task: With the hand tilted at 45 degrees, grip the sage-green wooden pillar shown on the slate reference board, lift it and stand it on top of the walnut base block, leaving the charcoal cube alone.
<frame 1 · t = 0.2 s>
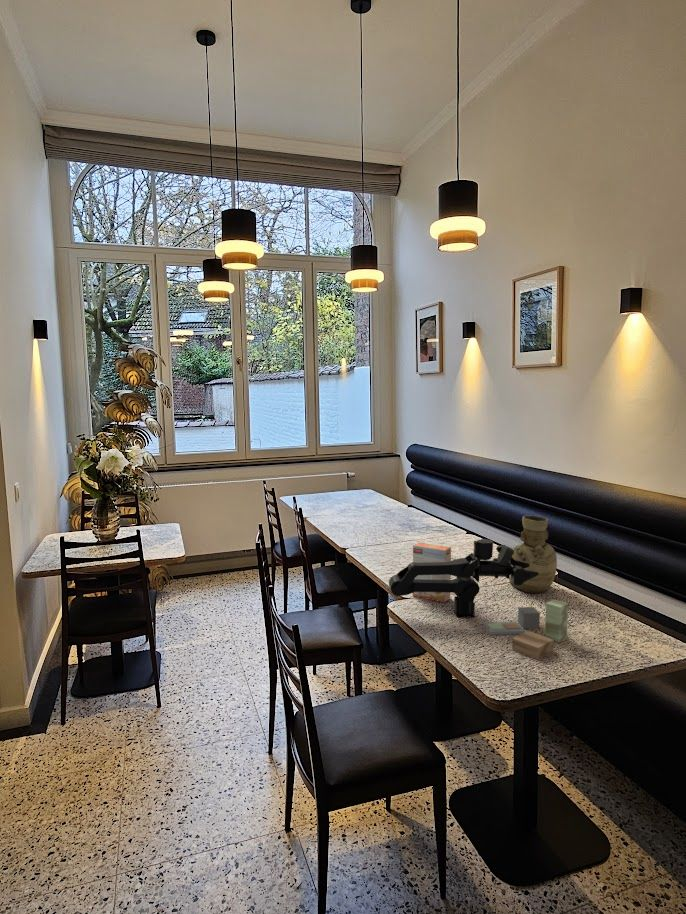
hand: (533, 569, 213), 17 cm above the table, tool horizontal, fingers open, 9 cm apart
ceramic vessel: (530, 588, 241), on the table
walnut base block: (532, 651, 185), on the table
reference board: (503, 629, 201), on the table
charcoal cube: (528, 625, 204), on the table
sage pillar: (555, 638, 194), on the table
cracker box: (431, 597, 231), on the table
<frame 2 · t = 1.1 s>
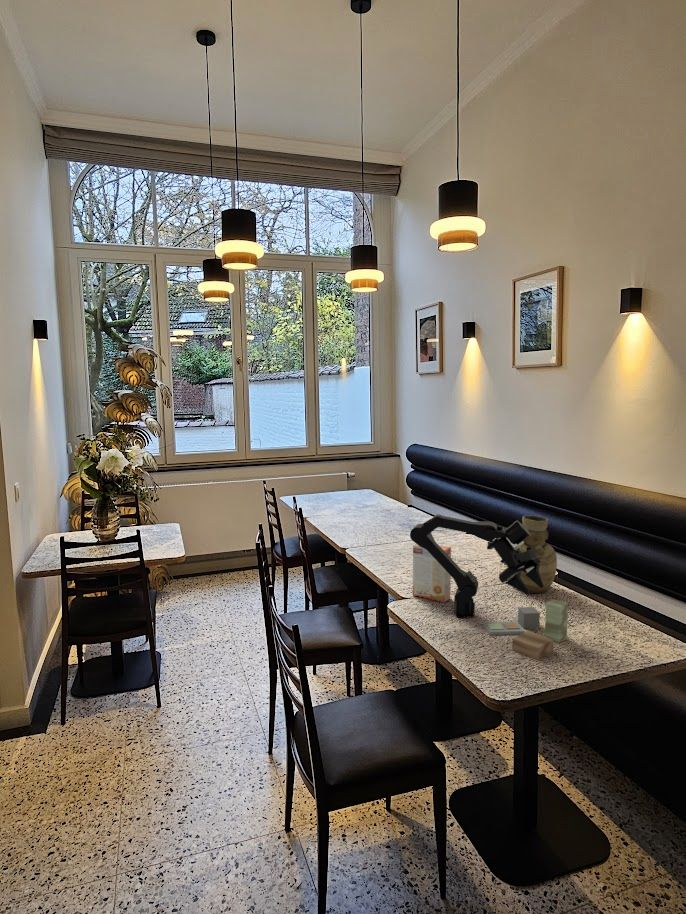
hand: (535, 590, 198), 14 cm above the table, tool tilted 45°, fingers open, 9 cm apart
nothing on the table moved.
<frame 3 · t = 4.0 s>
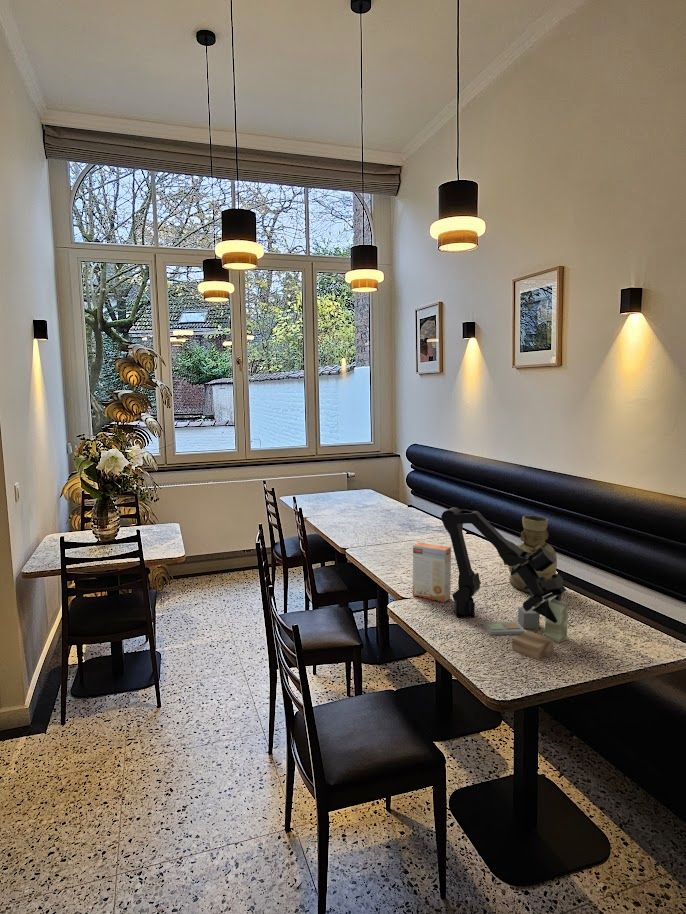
hand: (560, 620, 192), 7 cm above the table, tool tilted 45°, fingers closed on sage pillar, 5 cm apart
sage pillar: (555, 638, 194), on the table, touching gripper
everything else where it was.
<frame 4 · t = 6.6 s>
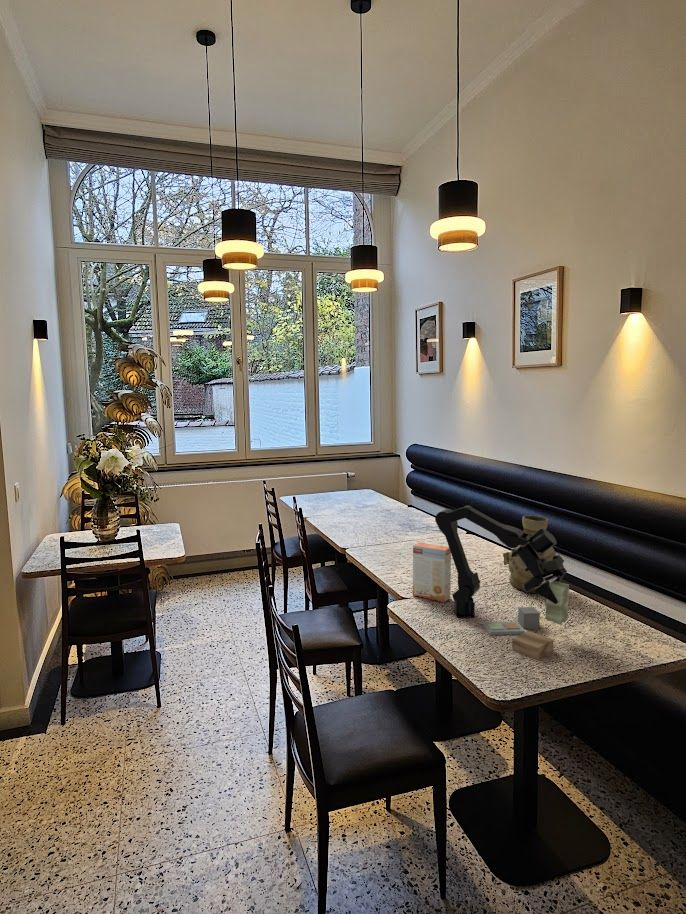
hand: (561, 601, 191), 13 cm above the table, tool tilted 45°, fingers closed on sage pillar, 5 cm apart
sage pillar: (556, 619, 193), point 6 cm above the table, touching gripper
everything else where it was.
when the fingers open (12 cm above the table, at t = 9.3 s): sage pillar drops 1 cm, point 4 cm above the table.
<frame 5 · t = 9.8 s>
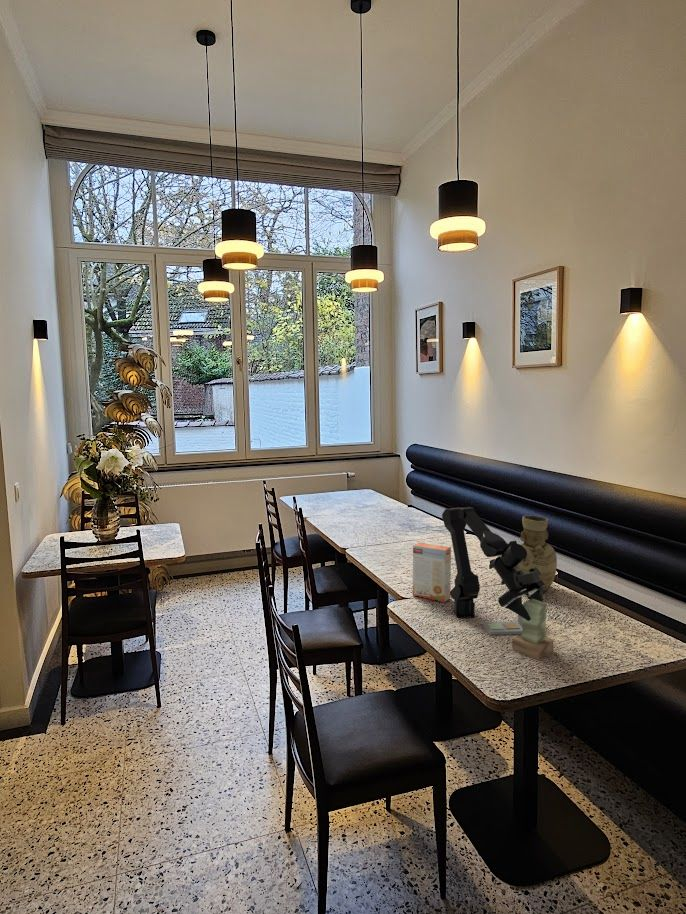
hand: (537, 616, 183), 12 cm above the table, tool tilted 45°, fingers open, 9 cm apart
sage pillar: (533, 639, 185), point 4 cm above the table
everything else where it was.
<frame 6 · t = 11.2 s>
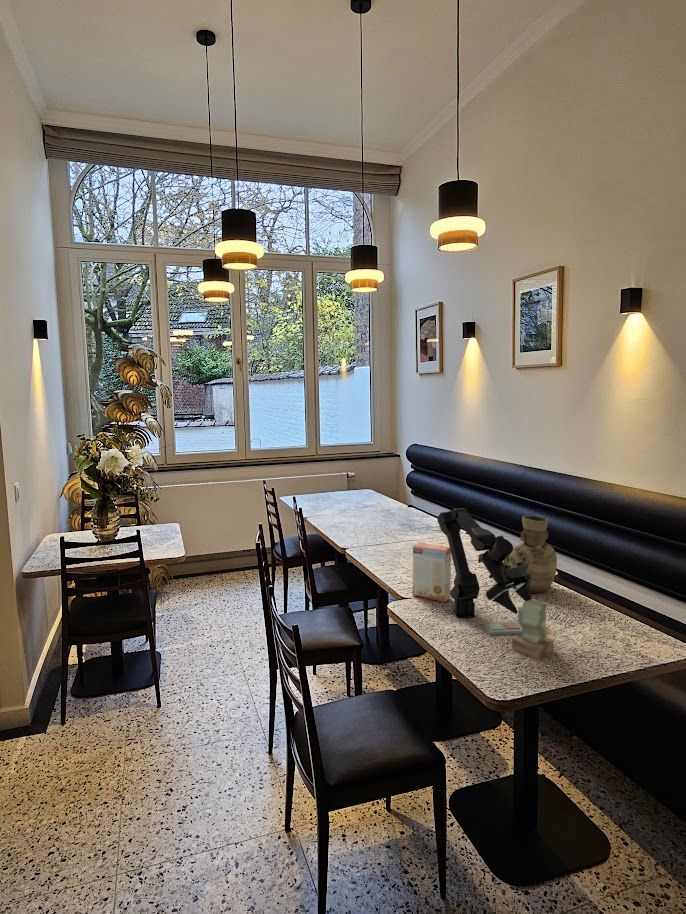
hand: (524, 609, 186), 12 cm above the table, tool tilted 45°, fingers open, 9 cm apart
walnut base block: (532, 651, 185), on the table, touching sage pillar
sage pillar: (533, 639, 184), point 4 cm above the table, touching walnut base block
everything else where it was.
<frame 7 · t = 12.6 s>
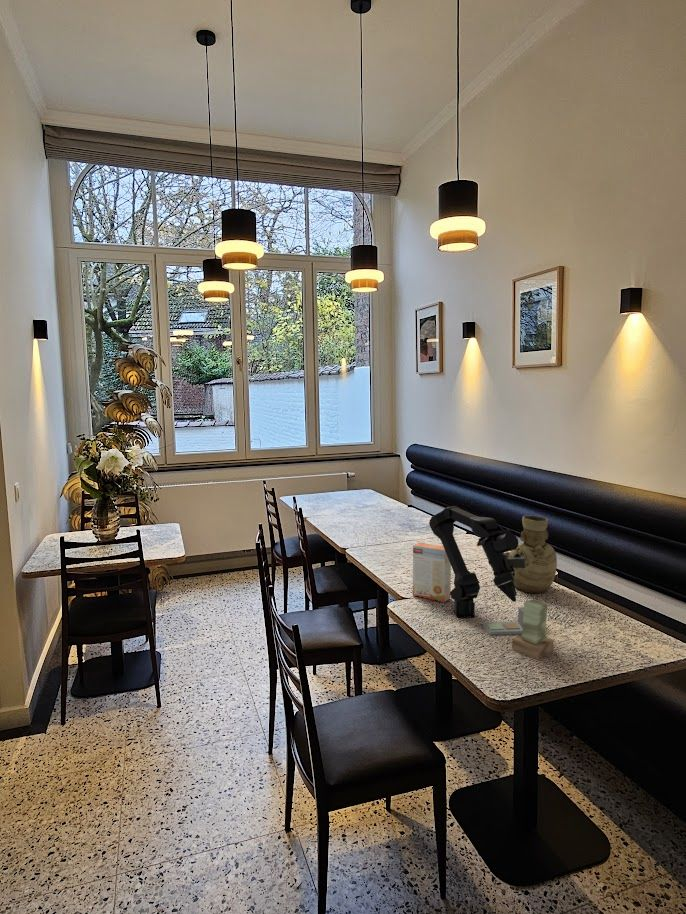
hand: (515, 598, 196), 12 cm above the table, tool tilted 30°, fingers open, 9 cm apart
walnut base block: (532, 651, 185), on the table
sage pillar: (533, 640, 184), point 4 cm above the table
everything else where it was.
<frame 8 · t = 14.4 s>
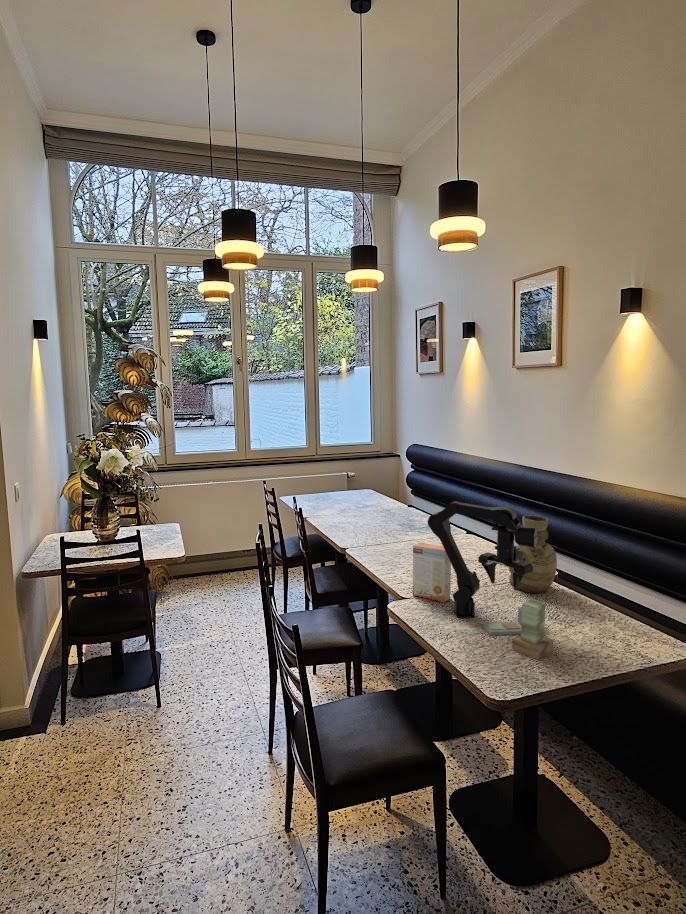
hand: (504, 586, 205), 13 cm above the table, tool pointing down, fingers open, 9 cm apart
nothing on the table moved.
at the end: sage pillar 0.7 cm off-centre on the walnut base block, point 4.0 cm above the walnut base block's base; sage pillar tilted 1°; the gripper is holding nothing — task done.
